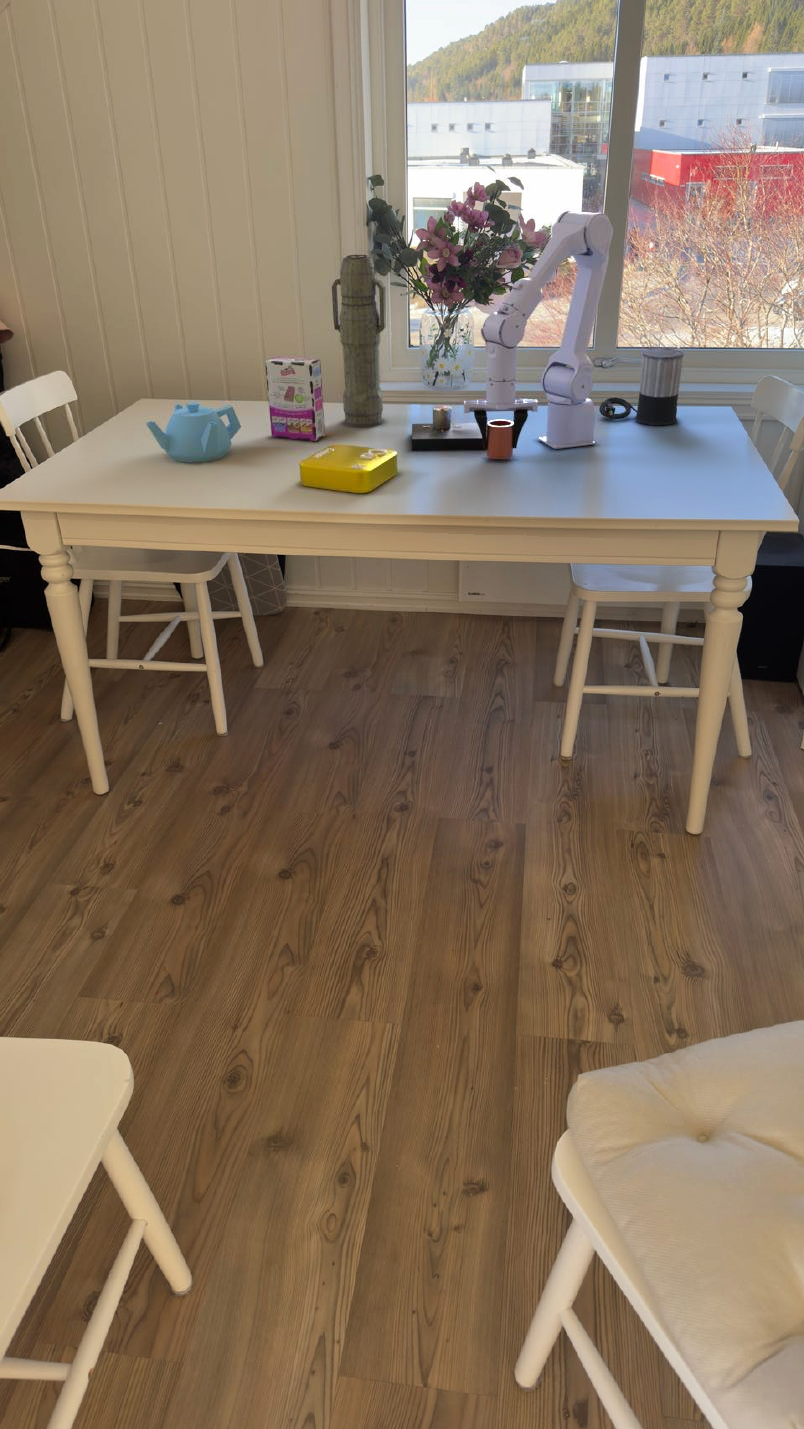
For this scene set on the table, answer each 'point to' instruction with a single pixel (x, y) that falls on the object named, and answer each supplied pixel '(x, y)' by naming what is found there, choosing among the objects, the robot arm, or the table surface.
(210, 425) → the teapot
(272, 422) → the candy bar box
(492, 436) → the orange stave barrel
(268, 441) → the table surface
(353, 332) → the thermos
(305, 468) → the element tile
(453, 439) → the warming plate
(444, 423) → the dial
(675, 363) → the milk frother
